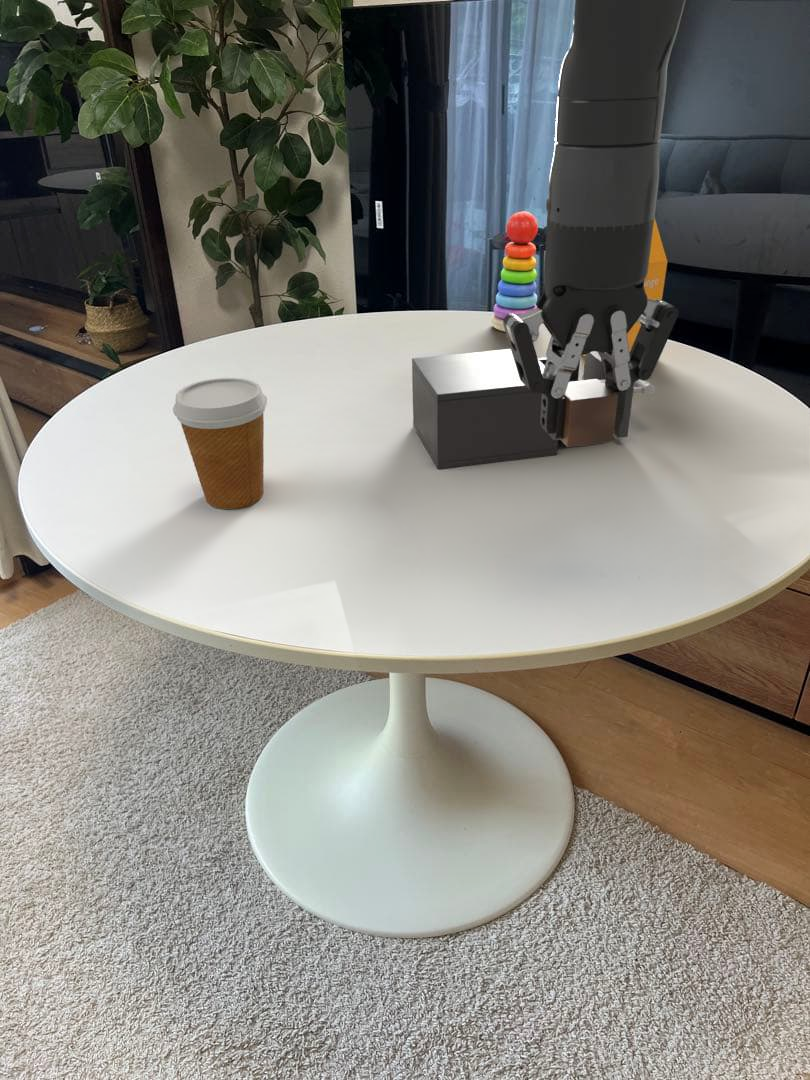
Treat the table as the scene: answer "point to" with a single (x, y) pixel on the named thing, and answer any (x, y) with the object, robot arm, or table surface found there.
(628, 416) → the drawer
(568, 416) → the block
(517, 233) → the stacking toy
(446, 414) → the cabinet
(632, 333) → the orange juice
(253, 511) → the table surface
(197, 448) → the disposable coffee cup
